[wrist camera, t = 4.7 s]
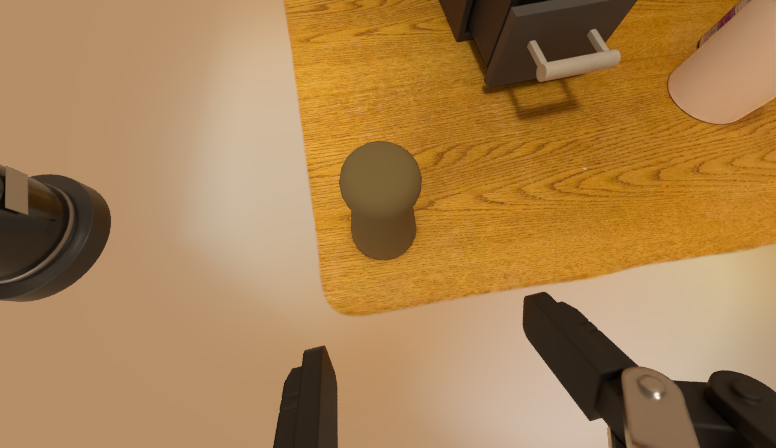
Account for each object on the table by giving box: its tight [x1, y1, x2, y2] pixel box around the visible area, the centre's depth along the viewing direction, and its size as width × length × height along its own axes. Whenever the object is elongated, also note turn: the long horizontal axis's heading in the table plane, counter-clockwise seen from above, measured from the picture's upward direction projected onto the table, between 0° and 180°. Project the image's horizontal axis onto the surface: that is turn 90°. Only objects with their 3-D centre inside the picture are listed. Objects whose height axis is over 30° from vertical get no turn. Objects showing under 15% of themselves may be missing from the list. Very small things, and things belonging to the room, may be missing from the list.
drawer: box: [467, 0, 637, 88], centre depth 30 cm, size 18×11×8 cm, turn 13°
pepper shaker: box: [339, 141, 422, 260], centre depth 23 cm, size 6×6×11 cm
